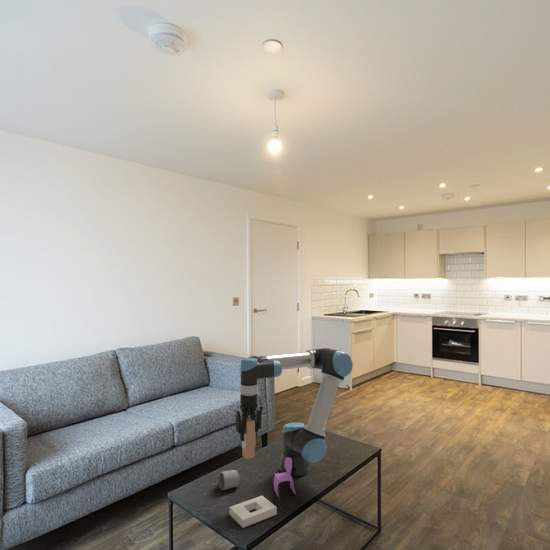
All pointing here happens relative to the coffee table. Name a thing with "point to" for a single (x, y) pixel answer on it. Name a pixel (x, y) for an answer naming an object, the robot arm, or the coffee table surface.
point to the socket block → (246, 518)
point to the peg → (249, 439)
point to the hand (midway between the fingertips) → (248, 446)
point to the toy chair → (284, 476)
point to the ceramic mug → (229, 479)
